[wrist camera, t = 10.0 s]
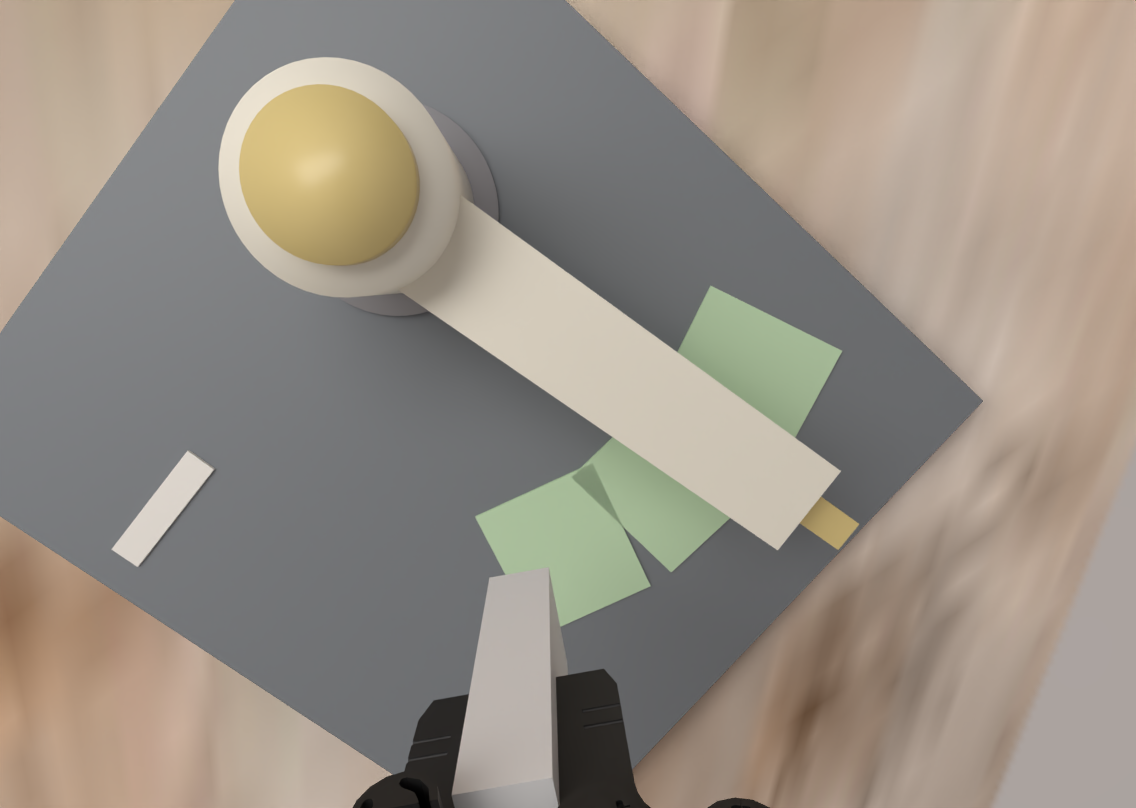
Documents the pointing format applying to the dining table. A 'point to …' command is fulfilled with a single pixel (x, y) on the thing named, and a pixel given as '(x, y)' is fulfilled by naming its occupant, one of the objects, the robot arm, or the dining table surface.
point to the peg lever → (490, 285)
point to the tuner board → (439, 388)
